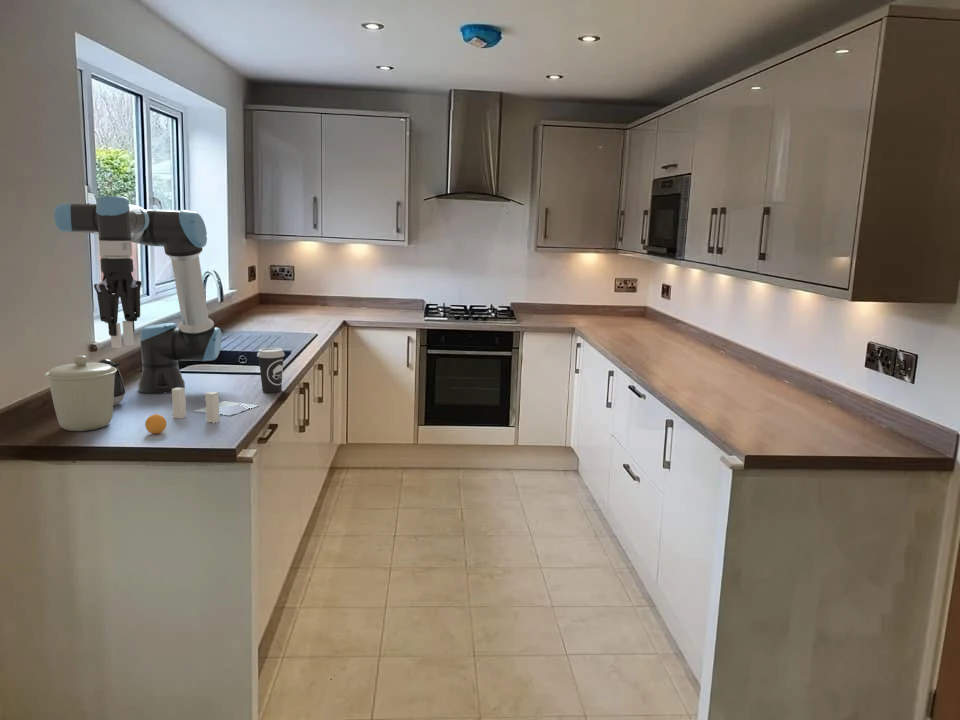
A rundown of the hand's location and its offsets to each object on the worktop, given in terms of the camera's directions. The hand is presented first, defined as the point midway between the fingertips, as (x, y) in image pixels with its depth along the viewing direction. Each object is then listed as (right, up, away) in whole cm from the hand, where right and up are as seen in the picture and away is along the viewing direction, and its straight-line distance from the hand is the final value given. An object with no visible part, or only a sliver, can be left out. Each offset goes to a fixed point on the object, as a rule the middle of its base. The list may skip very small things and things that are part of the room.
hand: (123, 346), depth 189 cm
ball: (+3, -22, +13) cm, 26 cm away
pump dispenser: (-26, -18, +43) cm, 53 cm away
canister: (-20, -23, +19) cm, 36 cm away
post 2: (+14, -22, +27) cm, 37 cm away
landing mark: (+13, -19, +42) cm, 48 cm away
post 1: (+2, -21, +31) cm, 37 cm away
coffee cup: (+20, -15, +67) cm, 71 cm away
